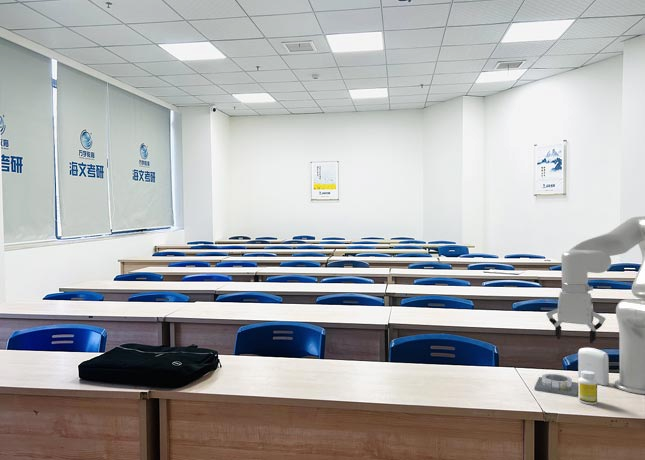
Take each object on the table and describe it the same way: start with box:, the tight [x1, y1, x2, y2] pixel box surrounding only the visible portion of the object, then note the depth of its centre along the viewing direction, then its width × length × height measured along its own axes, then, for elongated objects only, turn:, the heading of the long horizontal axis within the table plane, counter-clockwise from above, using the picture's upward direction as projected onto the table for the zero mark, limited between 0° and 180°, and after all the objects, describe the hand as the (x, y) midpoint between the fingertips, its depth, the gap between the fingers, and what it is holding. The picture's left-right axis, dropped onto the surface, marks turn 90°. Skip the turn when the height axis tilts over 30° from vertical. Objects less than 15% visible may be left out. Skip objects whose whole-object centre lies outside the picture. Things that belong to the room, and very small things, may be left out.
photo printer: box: [577, 347, 610, 386], centre depth 174 cm, size 10×4×12 cm, turn 32°
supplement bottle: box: [577, 371, 598, 405], centre depth 154 cm, size 5×5×10 cm
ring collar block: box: [534, 373, 578, 397], centre depth 168 cm, size 13×13×4 cm
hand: (575, 340), depth 155 cm, fingers open, 9 cm apart
